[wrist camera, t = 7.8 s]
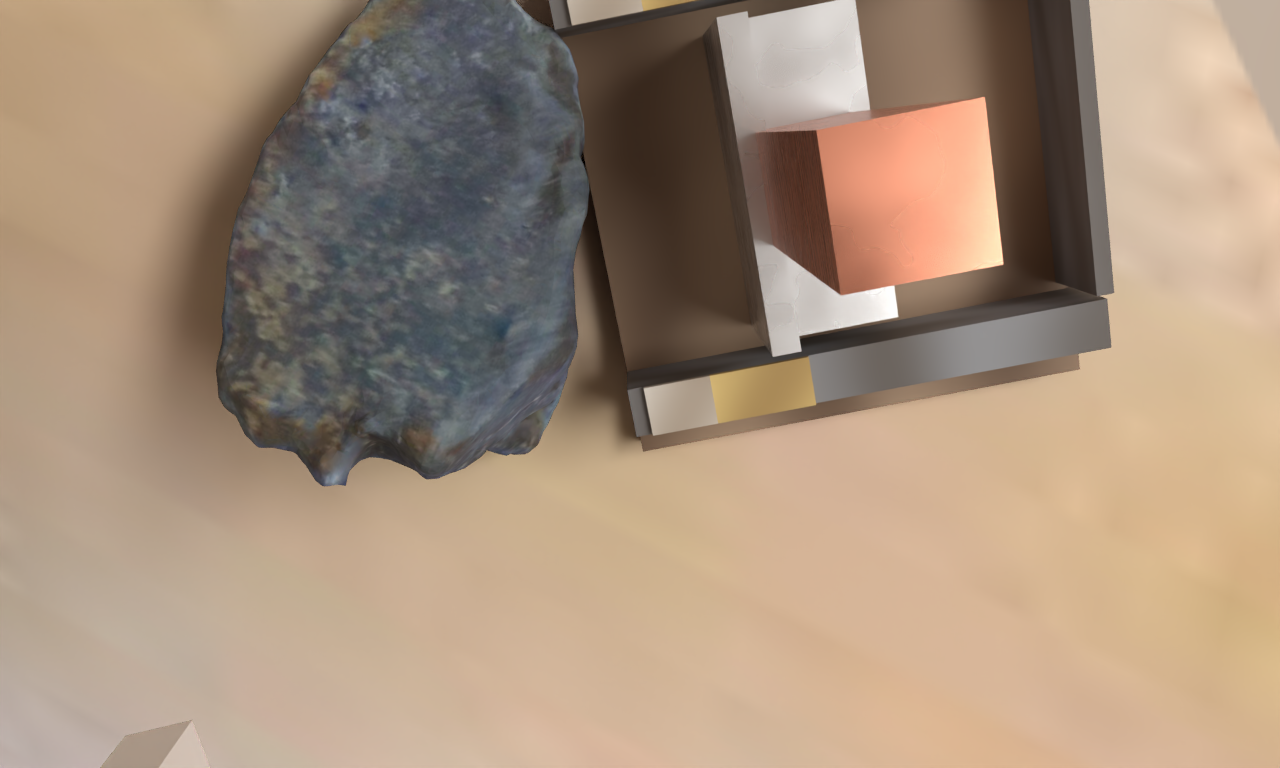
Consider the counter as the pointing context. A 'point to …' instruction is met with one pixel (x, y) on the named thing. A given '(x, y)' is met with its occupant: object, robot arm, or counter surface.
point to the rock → (411, 245)
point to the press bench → (927, 309)
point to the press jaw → (840, 175)
